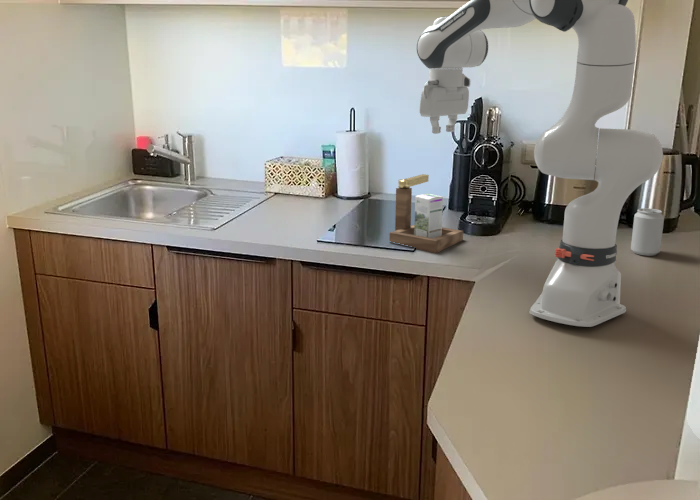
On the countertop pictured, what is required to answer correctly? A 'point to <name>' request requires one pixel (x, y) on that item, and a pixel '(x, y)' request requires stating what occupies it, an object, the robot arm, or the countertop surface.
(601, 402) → the countertop surface
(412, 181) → the bar
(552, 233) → the countertop surface
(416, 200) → the syrup box
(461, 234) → the holder
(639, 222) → the can
